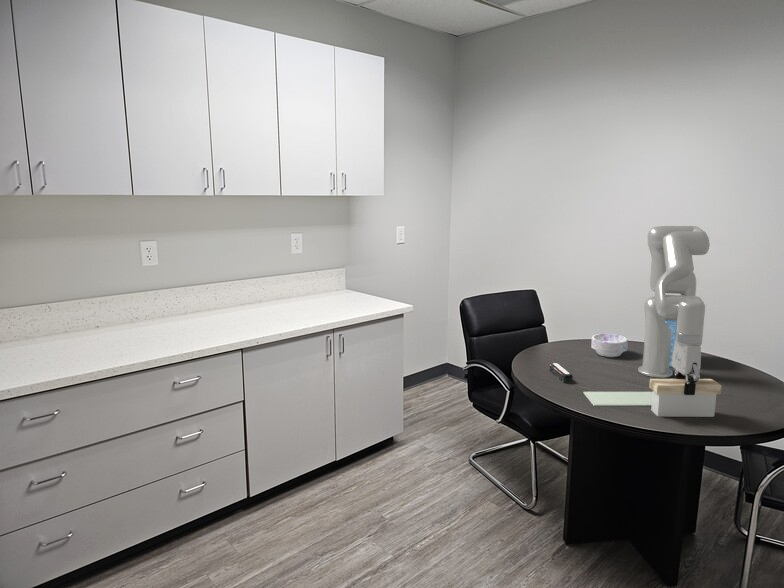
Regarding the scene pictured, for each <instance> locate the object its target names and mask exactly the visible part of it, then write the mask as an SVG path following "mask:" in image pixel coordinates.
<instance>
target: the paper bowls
mask: <svg viewBox="0 0 784 588" xmlns="http://www.w3.org/2000/svg"><path fill="white" fill-rule="evenodd" d="M628 342H629V339H628V337H625V336H624V335H621V334H615V333H596V334H593V335H592V336H591V342H590V343H591V344H590V345H591V346H590V347H591V349H593V350H595V352H596V354H597V355H599V356H601V357H606V358H617V357H620V356H621V355H622V354H623V353H624V352H627V351H628V346H629V345H628V344H629V343H628Z"/></svg>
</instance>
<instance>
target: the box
mask: <svg viewBox="0 0 784 588" xmlns="http://www.w3.org/2000/svg"><path fill="white" fill-rule="evenodd" d="M652 392H653V394H652V406H650V407H651V409H650V410H651V412H652V413H653V414H655V416H656V417H678V418H679V417H681V418H682V417H686V418H687V417H690V418H691V417H693V418H695V417H696V418H697V417H704V418H705V417H707V418H708V417H709V418H710V417H715V415H716V414H715V413H716V403H717V402H716V401H717V394H695V395H685V394H656V393H655V392H654V391H653V390H652Z"/></svg>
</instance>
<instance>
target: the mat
mask: <svg viewBox="0 0 784 588" xmlns="http://www.w3.org/2000/svg"><path fill="white" fill-rule="evenodd" d="M583 394H584V396H585V397H586V398H587V399H588V401H589V402H590V403H591V404H592V405H593V407H652V394H653V391H583Z"/></svg>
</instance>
